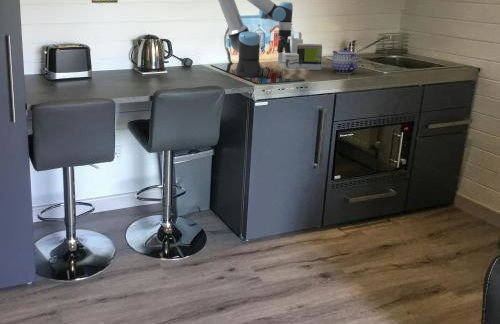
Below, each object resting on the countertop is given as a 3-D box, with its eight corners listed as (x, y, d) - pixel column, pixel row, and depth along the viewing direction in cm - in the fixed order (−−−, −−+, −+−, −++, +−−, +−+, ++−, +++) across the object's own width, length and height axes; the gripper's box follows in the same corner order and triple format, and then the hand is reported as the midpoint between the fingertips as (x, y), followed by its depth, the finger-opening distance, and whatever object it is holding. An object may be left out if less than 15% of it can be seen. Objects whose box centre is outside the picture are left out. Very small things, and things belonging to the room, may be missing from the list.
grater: (282, 62, 371) (284, 31, 364) (297, 62, 375) (298, 31, 368) (289, 65, 362) (291, 33, 355) (304, 64, 366) (306, 32, 359)
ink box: (284, 74, 330) (285, 54, 326) (281, 73, 335) (282, 52, 331) (298, 74, 333) (299, 54, 329) (295, 73, 337) (296, 52, 333)
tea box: (320, 67, 357) (322, 43, 352) (320, 70, 347) (322, 45, 342) (296, 66, 358) (297, 42, 353) (296, 69, 349) (297, 44, 344)
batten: (283, 78, 318) (284, 69, 316) (282, 77, 321) (282, 68, 319) (309, 78, 321) (310, 69, 320) (307, 77, 324) (308, 68, 323)
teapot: (366, 75, 335) (369, 49, 330) (344, 77, 329) (346, 50, 324) (343, 68, 356) (345, 44, 352) (321, 69, 350) (323, 44, 346)
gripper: (297, 31, 328) (295, 68, 334) (284, 27, 351) (283, 62, 357) (285, 31, 326) (283, 69, 333) (273, 27, 349) (271, 62, 356)
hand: (283, 65), depth 345 cm, fingers open, 13 cm apart
